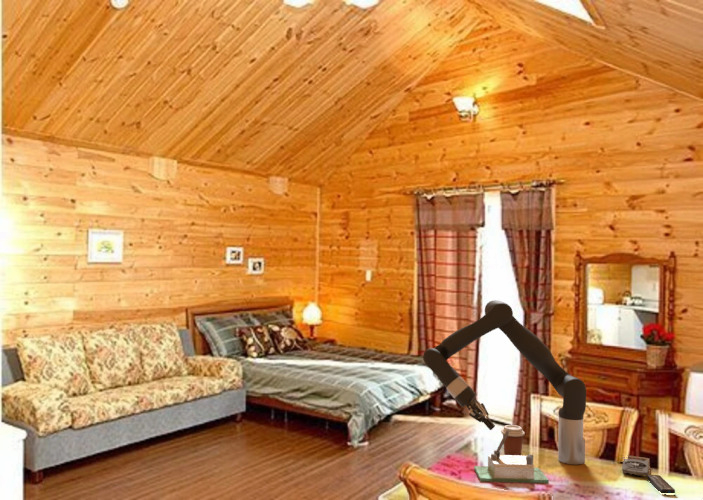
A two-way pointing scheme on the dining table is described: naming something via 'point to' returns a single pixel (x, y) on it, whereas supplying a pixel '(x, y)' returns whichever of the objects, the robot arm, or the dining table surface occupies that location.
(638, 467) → the graphics card
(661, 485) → the multiport hub
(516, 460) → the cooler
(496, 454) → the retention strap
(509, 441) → the coffee cup
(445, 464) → the dining table surface
